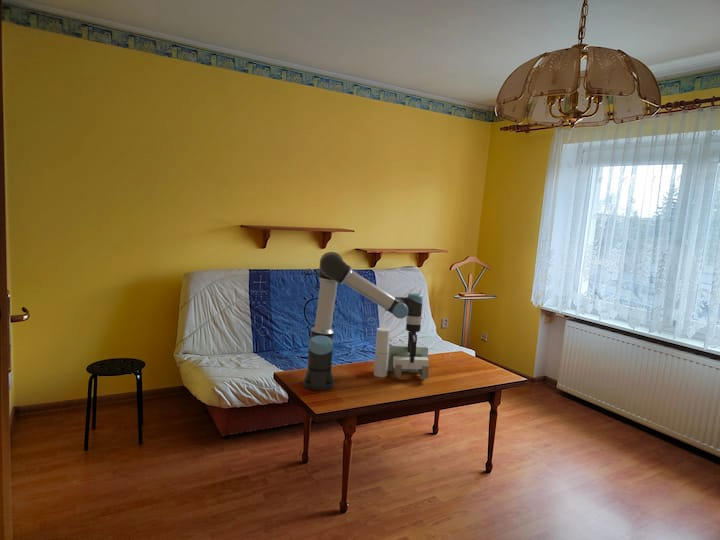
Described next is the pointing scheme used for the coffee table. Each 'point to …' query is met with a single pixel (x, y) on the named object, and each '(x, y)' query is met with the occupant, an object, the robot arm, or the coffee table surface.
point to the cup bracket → (403, 352)
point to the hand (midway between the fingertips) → (410, 366)
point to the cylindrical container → (381, 352)
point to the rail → (405, 362)
